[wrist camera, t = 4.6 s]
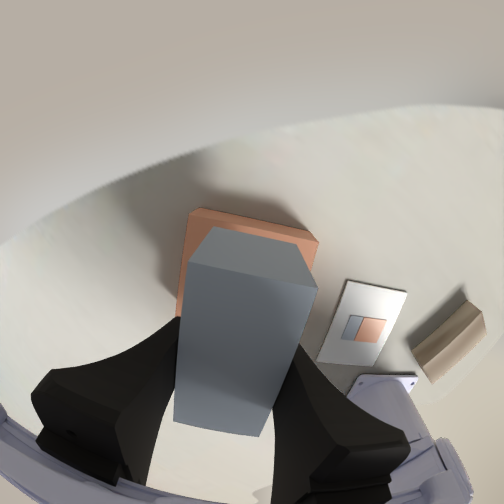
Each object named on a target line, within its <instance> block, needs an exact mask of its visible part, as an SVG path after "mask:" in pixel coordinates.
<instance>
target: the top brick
mask: <svg viewBox="0 0 504 504" xmlns="http://www.w3.org/2000/svg"><path fill="white" fill-rule="evenodd" d="M317 290H318V287H317V285H316V283H315V281H314V279H313V277H312V275H311V273H310V270H309V268H308V266H307V264H306V262H305V260H304V258H303V256H302V254H301V252H300V250H299V248H298V246H297V244H293V243H289V242H284V241H280V240H275V239H271V238H266V237H262V236H257V235H252V234H248V233H243V232H238V231H234V230H229V229H224V228H220V227H215V226H213V227H212V229H211V230H210V232H209V233H208V234H207V236H206V237H205V238H204V240H203V241H202V242H201V244H200V245H199V247H198V248H197V249H196V251H195V252H194V253H193V255H192V256H191V258H190V259H189V260H188V264H187V271H186V279H185V286H184V294H183V303H182V311H181V320H180V330H179V340H178V352H177V364H176V378H175V394H174V415H173V421H174V422H178V423H182V424H186V425H191V426H195V427H200V428H204V429H209V430H215V431H220V432H226V433H232V434H239V435H246V436H254V437H259V435H260V433H261V431H262V429H263V427H264V425H265V423H266V420H267V418H268V416H269V414H270V412H271V409H272V407H273V405H274V403H275V400H276V398H277V396H278V393H279V391H280V389H281V386H282V384H283V381H284V379H285V377H286V374H287V372H288V369H289V367H290V364H291V362H292V359H293V357H294V354H295V352H296V349H297V346H298V344H299V341H300V338H301V336H302V333H303V330H304V328H305V325H306V322H307V319H308V317H309V314H310V311H311V308H312V305H313V302H314V299H315V296H316V293H317Z"/></svg>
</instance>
